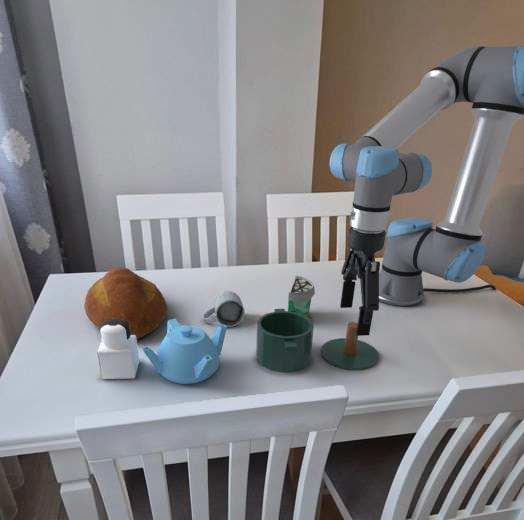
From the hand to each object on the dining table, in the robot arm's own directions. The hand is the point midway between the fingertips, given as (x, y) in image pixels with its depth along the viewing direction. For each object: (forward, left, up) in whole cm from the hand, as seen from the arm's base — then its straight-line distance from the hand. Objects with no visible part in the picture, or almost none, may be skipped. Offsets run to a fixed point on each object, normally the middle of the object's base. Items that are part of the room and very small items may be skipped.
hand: (353, 320), depth 109 cm
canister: (+16, 0, -10) cm, 19 cm away
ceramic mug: (+29, -20, -10) cm, 37 cm away
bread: (+55, -25, -10) cm, 61 cm away
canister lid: (0, 0, -9) cm, 9 cm away
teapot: (+38, +3, -10) cm, 39 cm away
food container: (+8, -20, -10) cm, 24 cm away
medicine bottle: (+53, +2, -10) cm, 54 cm away
